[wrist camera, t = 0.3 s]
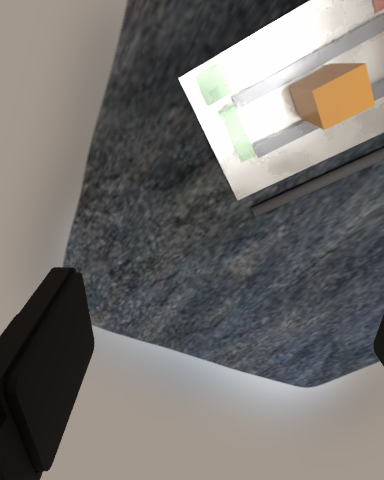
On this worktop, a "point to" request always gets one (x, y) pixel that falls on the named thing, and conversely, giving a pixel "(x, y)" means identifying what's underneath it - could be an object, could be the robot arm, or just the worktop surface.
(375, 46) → the panel
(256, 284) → the worktop surface
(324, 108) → the lever
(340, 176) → the cord
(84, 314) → the robot arm
